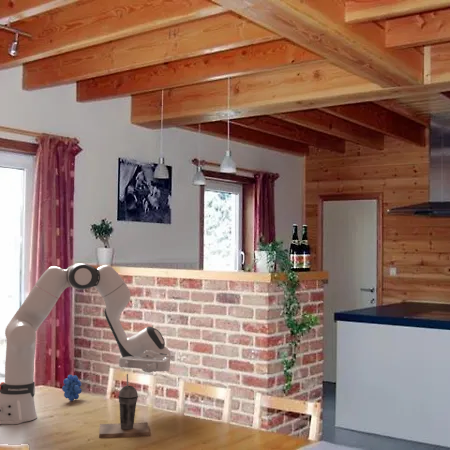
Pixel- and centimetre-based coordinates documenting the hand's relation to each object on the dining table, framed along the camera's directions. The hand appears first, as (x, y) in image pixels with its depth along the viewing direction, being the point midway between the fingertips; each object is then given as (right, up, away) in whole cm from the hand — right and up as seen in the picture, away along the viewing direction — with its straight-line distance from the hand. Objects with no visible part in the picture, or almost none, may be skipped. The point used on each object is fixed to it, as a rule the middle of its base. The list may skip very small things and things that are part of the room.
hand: (136, 366), depth 262 cm
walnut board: (-3, -22, -12) cm, 25 cm away
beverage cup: (-2, -21, -13) cm, 24 cm away
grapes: (-33, -23, +36) cm, 54 cm away
